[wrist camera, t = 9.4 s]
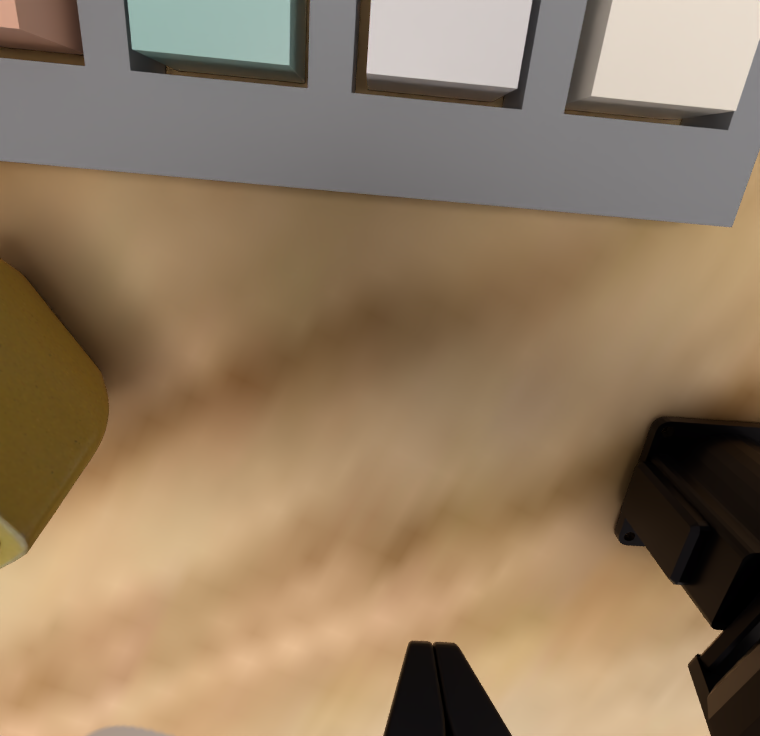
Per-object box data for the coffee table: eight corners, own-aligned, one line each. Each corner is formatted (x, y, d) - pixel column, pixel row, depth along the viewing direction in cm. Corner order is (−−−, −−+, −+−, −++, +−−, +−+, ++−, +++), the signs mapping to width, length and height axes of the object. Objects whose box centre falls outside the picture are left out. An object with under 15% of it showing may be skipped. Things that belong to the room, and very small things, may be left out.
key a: (716, -32, 14) (798, -79, 11) (672, 120, 16) (736, 110, 13) (583, -47, 14) (634, -98, 11) (552, 108, 16) (591, 96, 13)
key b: (516, -55, 14) (551, -109, 11) (491, 101, 16) (517, 88, 13) (378, -70, 14) (379, -129, 11) (367, 89, 15) (366, 73, 13)
